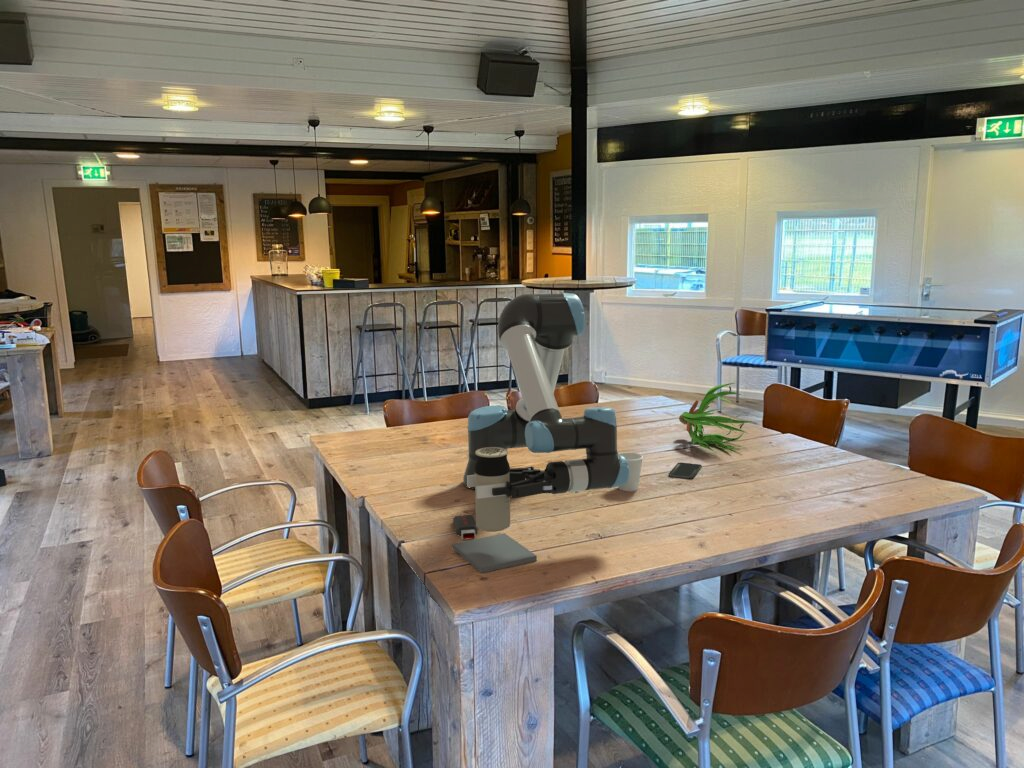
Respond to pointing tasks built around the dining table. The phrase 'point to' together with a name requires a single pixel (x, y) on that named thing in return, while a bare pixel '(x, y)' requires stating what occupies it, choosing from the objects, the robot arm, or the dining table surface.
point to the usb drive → (465, 526)
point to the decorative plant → (710, 420)
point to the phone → (685, 470)
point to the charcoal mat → (494, 552)
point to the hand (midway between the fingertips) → (472, 486)
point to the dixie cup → (632, 470)
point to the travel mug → (490, 471)
